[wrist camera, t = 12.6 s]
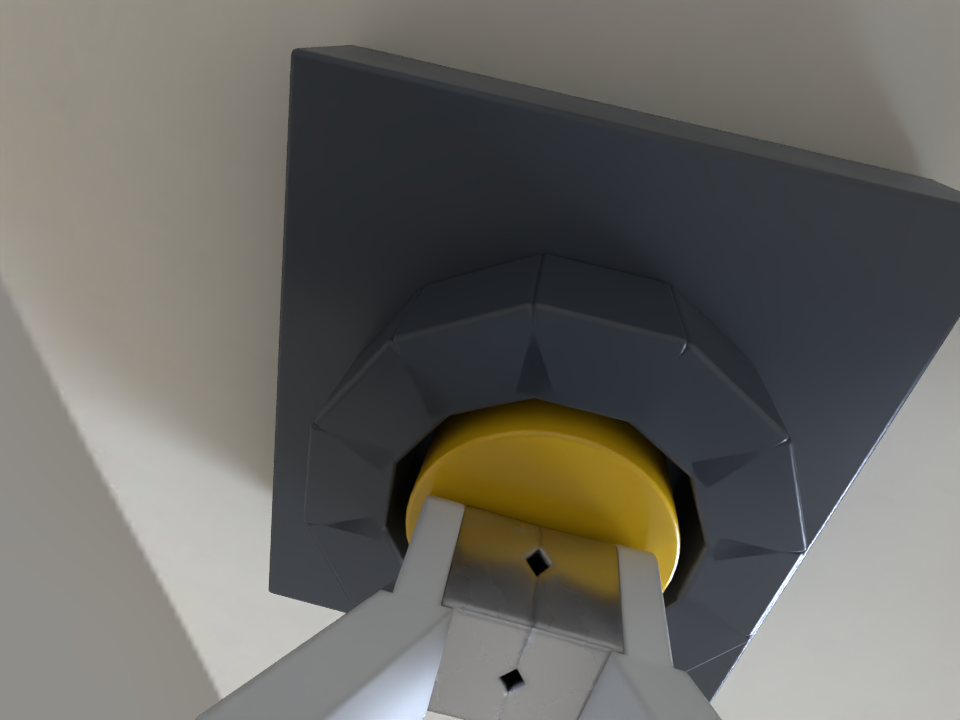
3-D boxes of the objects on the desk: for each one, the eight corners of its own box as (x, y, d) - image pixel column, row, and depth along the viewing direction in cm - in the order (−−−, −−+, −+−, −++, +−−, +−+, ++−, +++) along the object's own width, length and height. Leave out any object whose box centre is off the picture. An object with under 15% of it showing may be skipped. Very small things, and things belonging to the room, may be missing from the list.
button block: (348, 43, 9) (211, 50, 6) (934, 179, 9) (1148, 271, 6) (309, 518, 14) (220, 675, 11) (691, 618, 14) (725, 813, 11)
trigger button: (453, 336, 9) (425, 399, 7) (701, 398, 9) (727, 475, 7) (416, 519, 11) (389, 602, 9) (623, 573, 10) (629, 667, 9)
